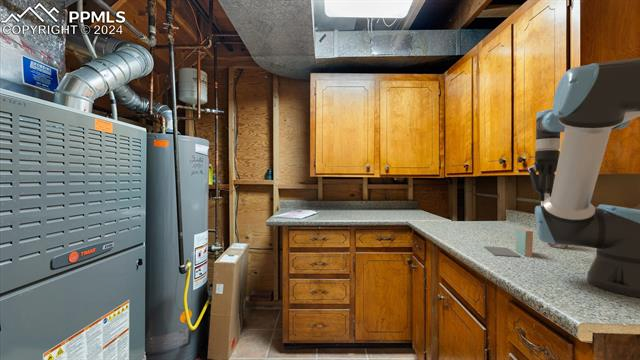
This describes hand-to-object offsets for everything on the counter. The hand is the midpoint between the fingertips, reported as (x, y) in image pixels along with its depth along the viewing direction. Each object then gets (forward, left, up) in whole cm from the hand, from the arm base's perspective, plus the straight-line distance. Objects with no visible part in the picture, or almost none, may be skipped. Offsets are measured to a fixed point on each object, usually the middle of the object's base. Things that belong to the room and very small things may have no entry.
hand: (544, 209), depth 109 cm
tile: (0, +7, -18) cm, 20 cm away
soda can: (+15, -13, -18) cm, 27 cm away
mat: (0, +15, -18) cm, 24 cm away
